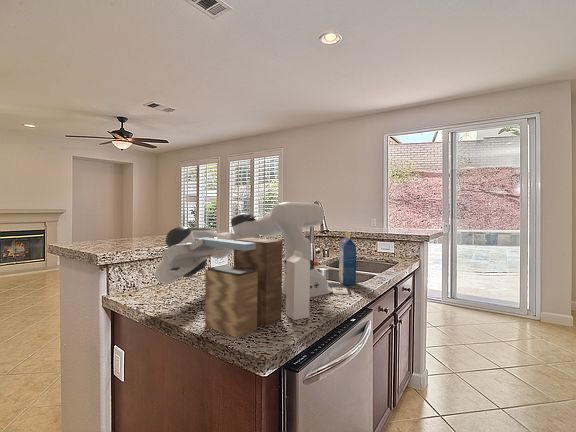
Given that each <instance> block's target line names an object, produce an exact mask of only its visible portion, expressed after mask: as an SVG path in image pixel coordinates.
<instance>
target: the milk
mask: <svg viewBox="0 0 576 432" xmlns="http://www.w3.org/2000/svg"><path fill="white" fill-rule="evenodd" d="M309 297H310V261H308V260H306V259H305V258H303V253H302V252H299V251H295V250H294V255H293V256H291V257H290V258H289V259H287V260H286V295H285V315H286V316H287V317H289V318H290V319H292V320H294V321H296V320H301V319H308V318H310V298H311V297H310V298H309Z"/></svg>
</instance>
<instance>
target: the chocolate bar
mask: <svg viewBox="0 0 576 432" xmlns="http://www.w3.org/2000/svg"><path fill="white" fill-rule="evenodd" d="M339 283H340V284H339ZM327 286H328V287H330V288H331V289H332V290H333V292H330V293H329V294H330V295H338V294H352V291H351V290H350V288H349V287H350V286H348V285H343V284H342V283H341V282H327Z"/></svg>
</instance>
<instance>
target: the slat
mask: <svg viewBox="0 0 576 432" xmlns="http://www.w3.org/2000/svg"><path fill="white" fill-rule="evenodd" d="M199 239H204V241H205V244H204V245H206V246H214V247H221V248H228V249H235V250H243V251H247V250H253V249H256V243H251V242H242V241H234V240H225V239H216V238H208V237H204V238H195V242H196V241H198V240H199Z"/></svg>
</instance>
